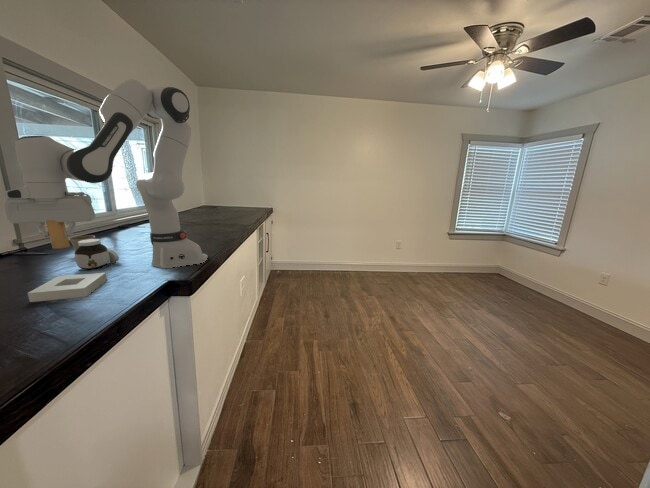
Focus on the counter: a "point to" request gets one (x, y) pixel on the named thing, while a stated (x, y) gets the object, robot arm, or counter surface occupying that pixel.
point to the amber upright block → (57, 234)
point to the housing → (67, 287)
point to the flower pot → (76, 239)
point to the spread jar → (94, 255)
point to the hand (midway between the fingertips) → (58, 236)
